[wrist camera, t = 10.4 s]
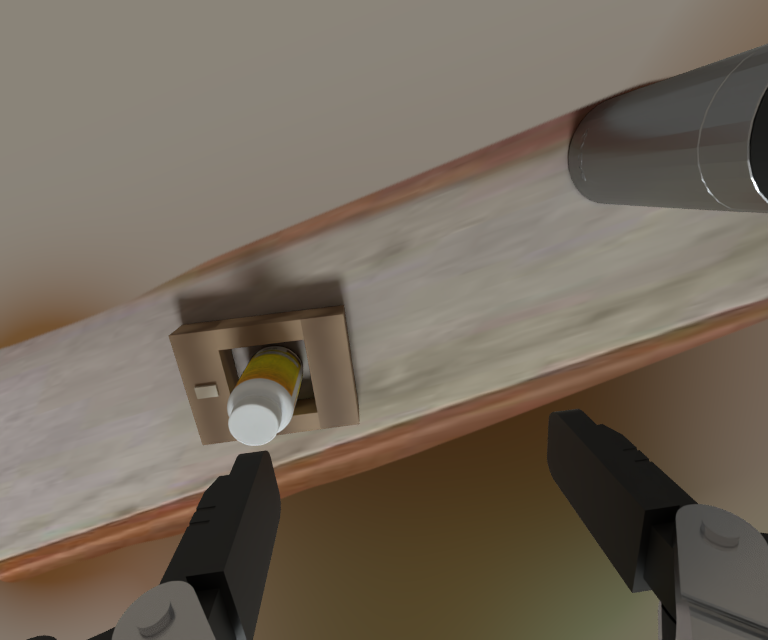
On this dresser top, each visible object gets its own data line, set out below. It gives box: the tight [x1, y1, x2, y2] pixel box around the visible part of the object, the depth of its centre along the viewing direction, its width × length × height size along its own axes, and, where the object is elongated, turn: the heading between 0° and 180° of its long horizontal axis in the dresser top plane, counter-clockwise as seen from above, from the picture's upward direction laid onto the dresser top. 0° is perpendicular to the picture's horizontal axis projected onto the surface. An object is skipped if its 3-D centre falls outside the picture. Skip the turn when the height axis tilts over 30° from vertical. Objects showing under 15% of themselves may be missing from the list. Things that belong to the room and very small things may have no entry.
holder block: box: [169, 305, 359, 445], centre depth 38 cm, size 16×12×3 cm
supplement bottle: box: [227, 346, 303, 446], centre depth 35 cm, size 6×6×10 cm
